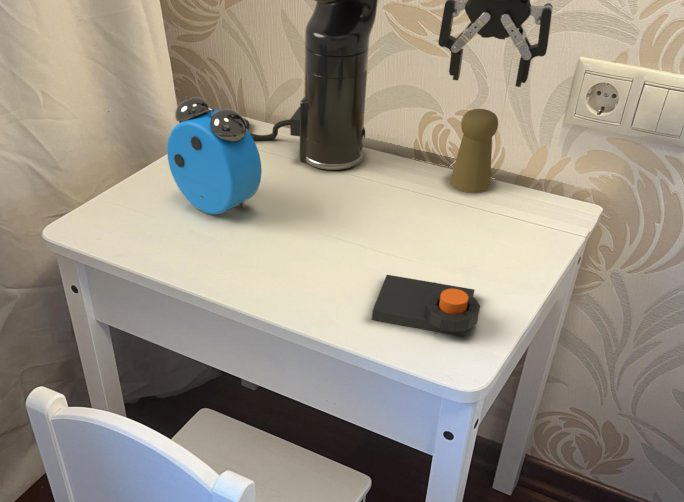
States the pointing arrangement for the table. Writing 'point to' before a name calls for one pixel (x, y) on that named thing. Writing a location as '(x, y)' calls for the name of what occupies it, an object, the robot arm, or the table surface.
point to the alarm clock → (213, 157)
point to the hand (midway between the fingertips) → (486, 81)
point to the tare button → (453, 301)
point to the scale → (422, 306)
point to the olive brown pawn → (475, 152)
